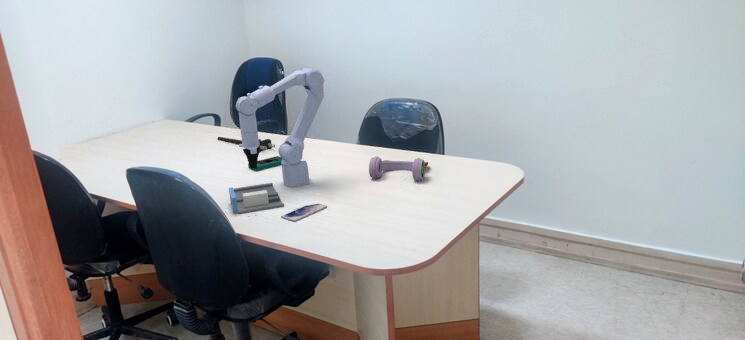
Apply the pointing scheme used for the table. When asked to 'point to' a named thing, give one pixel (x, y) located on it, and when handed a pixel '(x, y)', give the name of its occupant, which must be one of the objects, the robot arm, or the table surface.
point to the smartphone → (303, 212)
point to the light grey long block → (258, 198)
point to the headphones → (397, 167)
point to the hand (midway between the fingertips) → (253, 168)
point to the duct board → (237, 193)
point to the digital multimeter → (267, 163)
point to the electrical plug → (263, 146)
